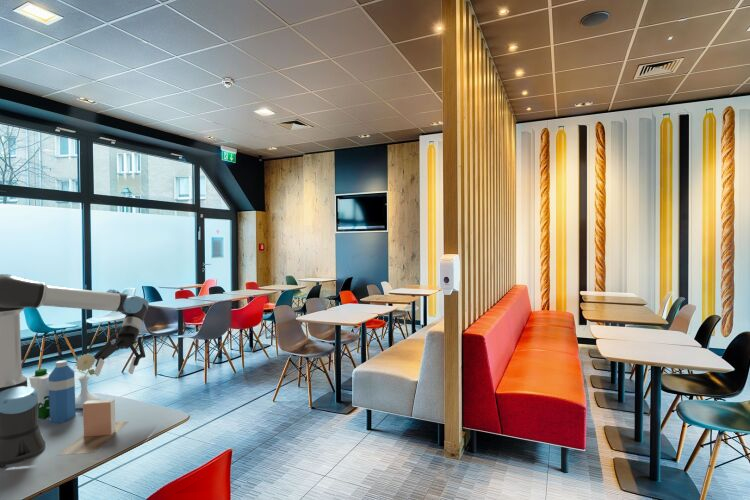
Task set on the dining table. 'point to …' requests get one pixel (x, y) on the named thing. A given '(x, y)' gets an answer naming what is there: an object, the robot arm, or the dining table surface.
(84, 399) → the flower in vase
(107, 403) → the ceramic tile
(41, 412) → the milk carton
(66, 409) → the water bottle
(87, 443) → the walnut board
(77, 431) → the dining table surface
